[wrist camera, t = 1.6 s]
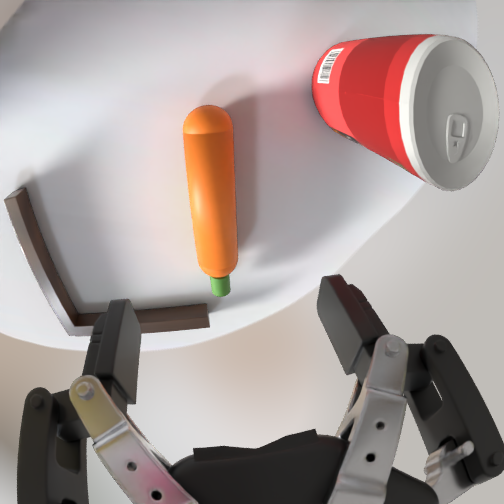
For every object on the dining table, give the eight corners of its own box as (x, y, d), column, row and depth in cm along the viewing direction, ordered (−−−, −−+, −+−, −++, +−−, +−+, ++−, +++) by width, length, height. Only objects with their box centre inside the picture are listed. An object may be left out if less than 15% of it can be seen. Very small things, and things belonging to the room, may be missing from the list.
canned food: (322, 148, 20) (414, 212, 11) (293, 50, 15) (389, 32, 6) (398, 125, 20) (499, 173, 11) (379, 38, 15) (492, 40, 6)
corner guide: (13, 191, 16) (3, 200, 15) (187, 154, 19) (186, 161, 17) (72, 324, 26) (69, 336, 24) (208, 314, 28) (210, 327, 26)
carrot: (182, 105, 17) (179, 109, 14) (229, 101, 17) (235, 105, 14) (202, 281, 25) (204, 305, 23) (236, 276, 26) (242, 301, 23)
